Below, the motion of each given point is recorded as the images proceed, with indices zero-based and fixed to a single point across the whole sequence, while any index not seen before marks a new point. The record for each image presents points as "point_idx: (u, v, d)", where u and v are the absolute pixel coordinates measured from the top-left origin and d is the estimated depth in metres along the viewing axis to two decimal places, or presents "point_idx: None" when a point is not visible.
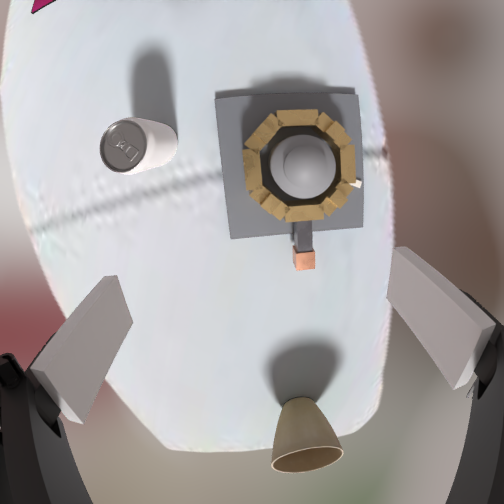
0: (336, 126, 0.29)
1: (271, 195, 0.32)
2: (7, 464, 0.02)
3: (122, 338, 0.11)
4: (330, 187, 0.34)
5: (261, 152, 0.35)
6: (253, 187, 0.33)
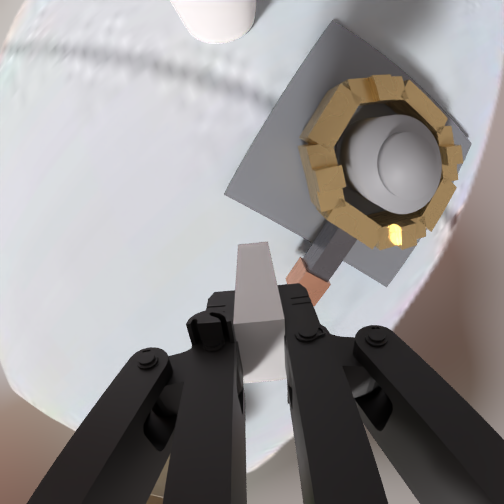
0: (458, 151, 0.17)
1: (340, 167, 0.18)
2: (175, 444, 0.04)
3: None
4: (399, 215, 0.22)
5: None
6: (320, 140, 0.18)
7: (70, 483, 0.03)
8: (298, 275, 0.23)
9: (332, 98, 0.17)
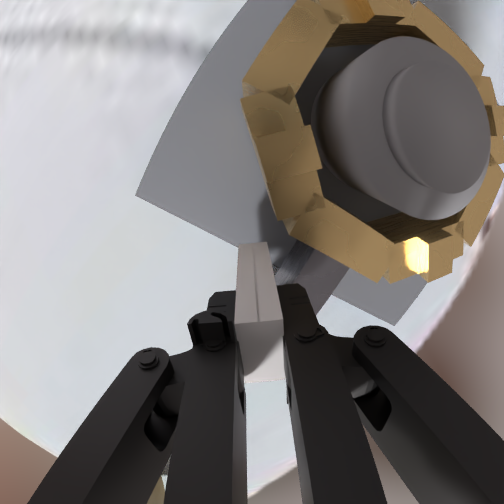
0: None
1: (307, 130, 0.09)
2: (176, 444, 0.04)
3: None
4: (421, 221, 0.12)
5: (322, 59, 0.12)
6: (266, 84, 0.09)
7: (70, 483, 0.03)
8: None
9: (287, 16, 0.08)
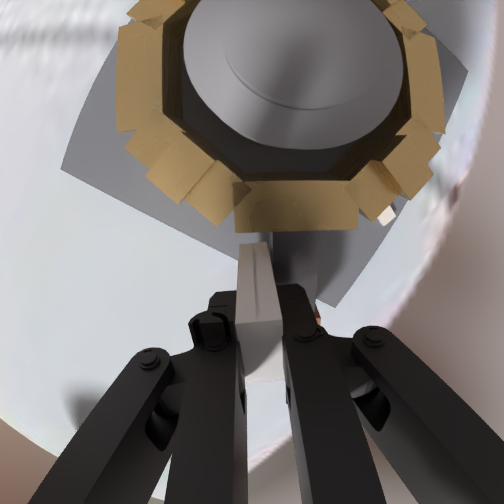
0: None
1: (180, 138, 0.08)
2: (177, 444, 0.04)
3: None
4: (375, 138, 0.11)
5: None
6: (136, 121, 0.09)
7: (71, 483, 0.03)
8: None
9: (118, 53, 0.08)
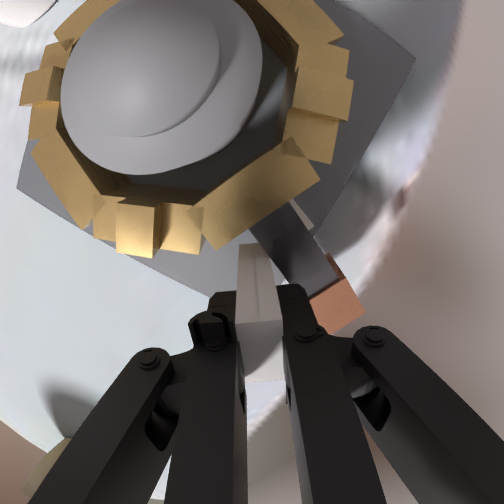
0: None
1: (119, 207, 0.09)
2: (176, 444, 0.04)
3: None
4: (288, 86, 0.10)
5: None
6: (88, 213, 0.10)
7: (71, 483, 0.03)
8: None
9: (43, 172, 0.10)
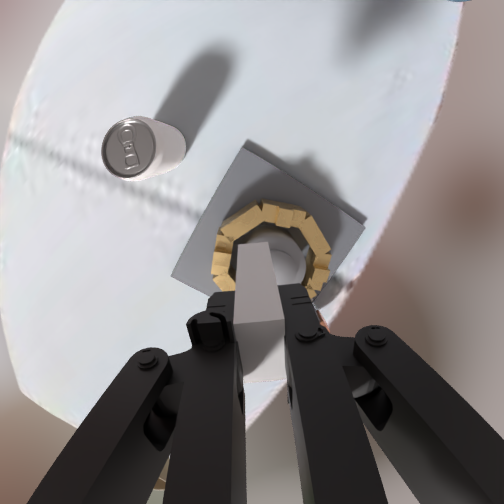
0: (283, 213, 0.30)
1: None
2: (175, 444, 0.04)
3: None
4: (309, 262, 0.34)
5: None
6: None
7: (70, 483, 0.03)
8: None
9: (219, 287, 0.34)
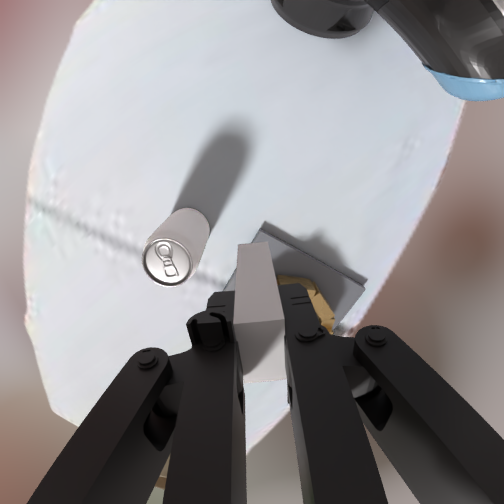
0: None
1: None
2: (175, 444, 0.04)
3: None
4: None
5: None
6: None
7: (70, 483, 0.03)
8: None
9: None
